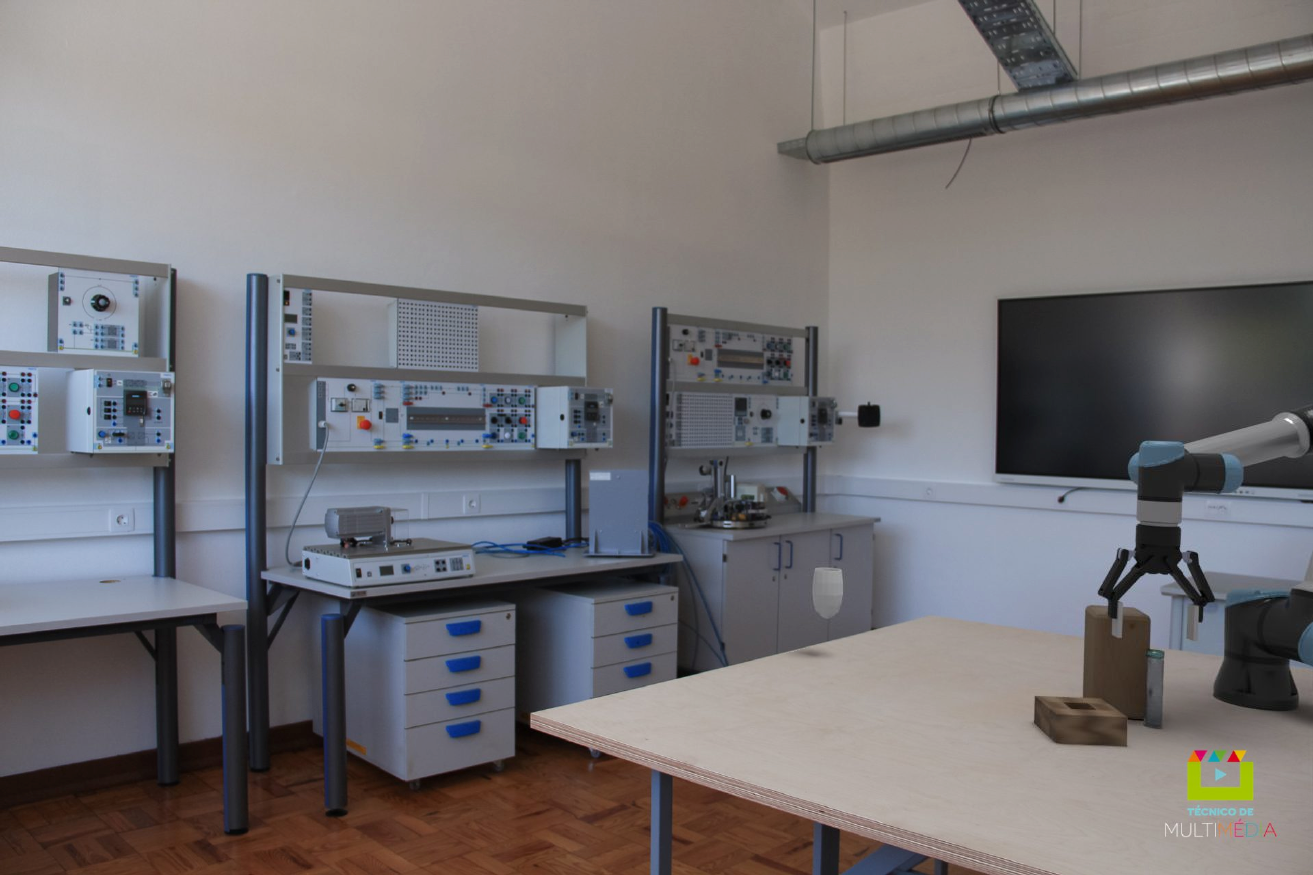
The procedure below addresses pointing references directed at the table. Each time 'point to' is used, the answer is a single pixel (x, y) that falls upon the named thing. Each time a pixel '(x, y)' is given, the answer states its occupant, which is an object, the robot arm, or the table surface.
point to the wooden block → (1116, 659)
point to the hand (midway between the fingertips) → (1154, 638)
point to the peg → (1154, 688)
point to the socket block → (1080, 720)
